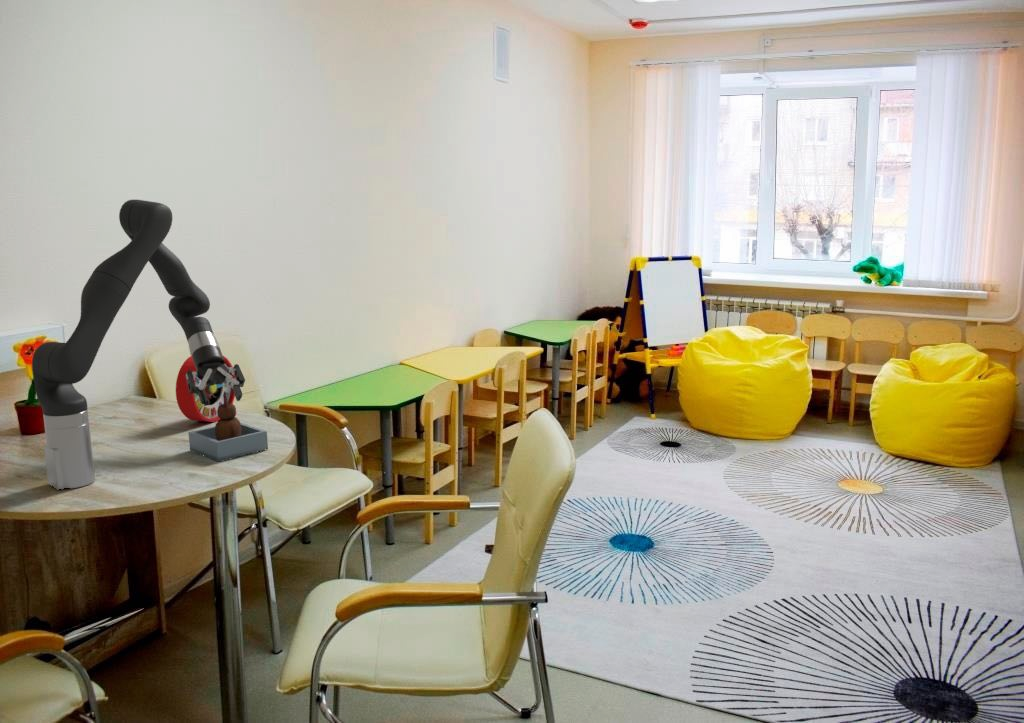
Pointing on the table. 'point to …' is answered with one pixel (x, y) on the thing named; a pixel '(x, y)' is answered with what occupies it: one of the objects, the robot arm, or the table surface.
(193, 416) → the toy clock
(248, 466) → the table surface
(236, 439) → the box
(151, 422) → the table surface
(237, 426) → the wooden figurine
